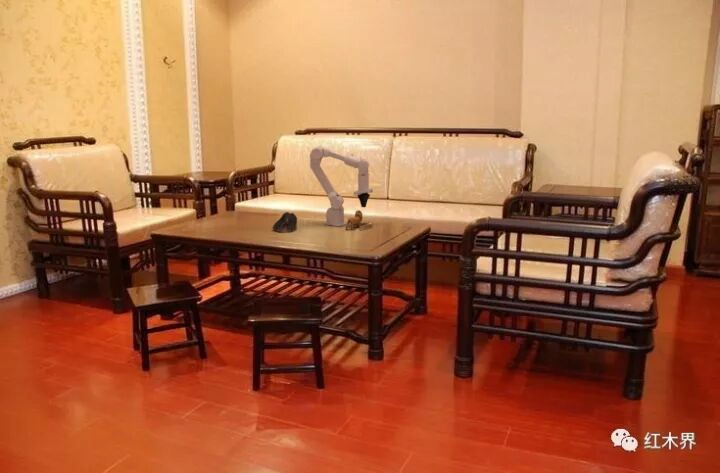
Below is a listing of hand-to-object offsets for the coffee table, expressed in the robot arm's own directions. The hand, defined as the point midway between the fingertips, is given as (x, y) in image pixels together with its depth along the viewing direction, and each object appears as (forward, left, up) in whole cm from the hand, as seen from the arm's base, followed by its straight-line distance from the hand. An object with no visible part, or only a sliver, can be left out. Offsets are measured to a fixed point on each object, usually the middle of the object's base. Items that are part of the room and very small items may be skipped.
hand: (363, 207), depth 317 cm
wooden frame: (+3, -8, -10) cm, 13 cm away
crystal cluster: (-26, -34, -10) cm, 44 cm away
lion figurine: (+1, -10, -10) cm, 14 cm away
